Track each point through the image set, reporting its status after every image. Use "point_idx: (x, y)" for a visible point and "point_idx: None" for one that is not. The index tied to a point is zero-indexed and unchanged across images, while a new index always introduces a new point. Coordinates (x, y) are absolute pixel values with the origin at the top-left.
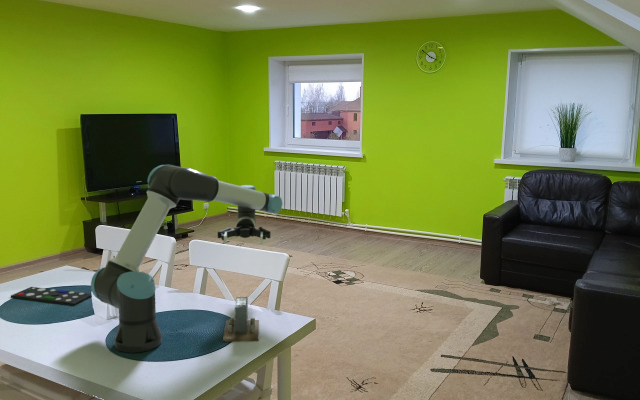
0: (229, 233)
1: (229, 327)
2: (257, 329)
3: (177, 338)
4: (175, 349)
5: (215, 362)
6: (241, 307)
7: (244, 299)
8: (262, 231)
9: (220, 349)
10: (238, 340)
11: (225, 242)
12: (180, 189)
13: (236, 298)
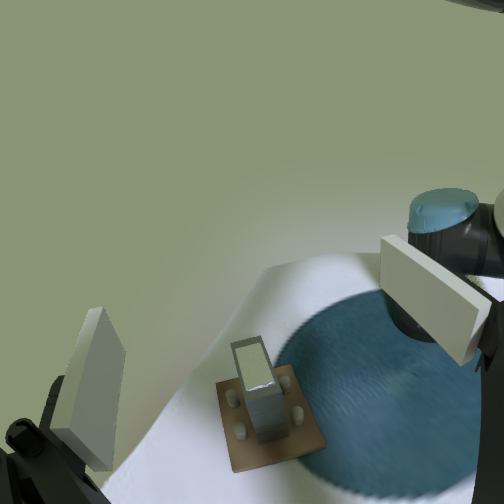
0: (497, 382)
1: (284, 376)
2: (224, 418)
3: (385, 350)
4: (359, 322)
5: (272, 314)
6: (243, 340)
7: (248, 379)
8: (45, 482)
9: (281, 344)
10: None
11: (381, 280)
12: None
13: (278, 384)
